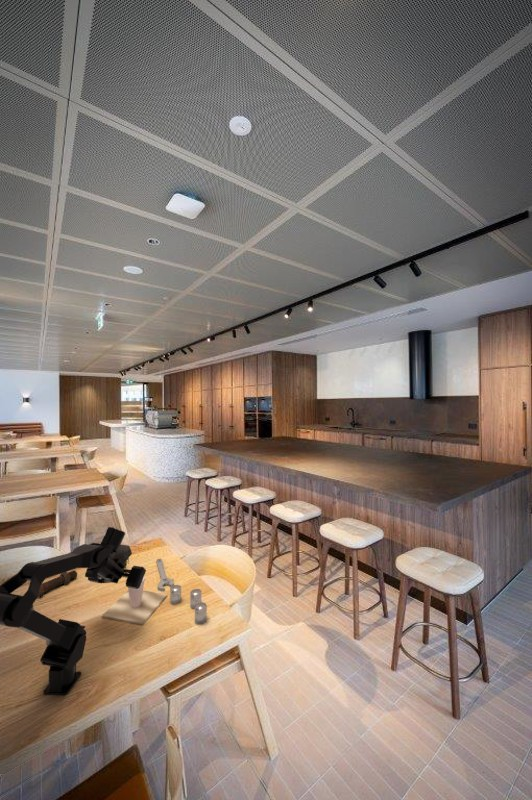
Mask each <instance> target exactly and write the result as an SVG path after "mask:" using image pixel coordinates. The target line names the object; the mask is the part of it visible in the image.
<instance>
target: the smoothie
mask: <svg viewBox="0 0 532 800" xmlns="http://www.w3.org/2000/svg"><path fill="white" fill-rule="evenodd" d="M145 581H146V576H145V575H144V577H143V580H142V582H141V585H140V587H139V588H138V589H133V588H128V587H127V591H128V592H129V599H130V606H131V607H132V608H137V607H139V606H140V605H141V602H142V594H143V591H144V585H145Z"/></svg>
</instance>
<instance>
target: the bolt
mask: <svg viewBox="0 0 532 800" xmlns="http://www.w3.org/2000/svg"><path fill="white" fill-rule="evenodd" d="M59 575H60V576H57V577H55V578H52V579H50V580H48V581H43V583H42V584H41V586H40V590H39V594H38V597H40V596H42V597H43V596H44V594H45V593H46V592H47V591H49V590H52V589H53V588H56V587H58V586H61V585H62V584H64V585H63V586H66V585H68V584H69V583H70V581H72V580H75V579H76V578H77V577H78V572H77V570H76V569H73V570H70V571H67V572H64V573H61V574H59ZM67 583H68V584H67ZM65 584H66V585H65ZM40 598H41V597H40Z"/></svg>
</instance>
